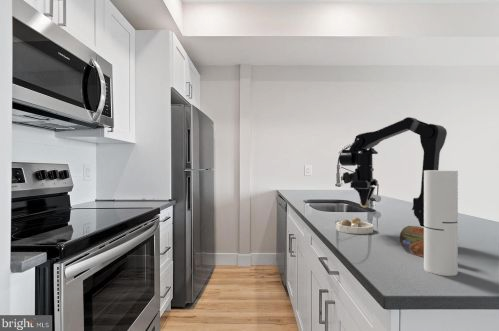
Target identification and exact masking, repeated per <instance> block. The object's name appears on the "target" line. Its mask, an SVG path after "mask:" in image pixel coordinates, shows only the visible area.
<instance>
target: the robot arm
mask: <svg viewBox="0 0 499 331" xmlns="http://www.w3.org/2000/svg"><path fill="white" fill-rule="evenodd" d="M408 131H411V132H412V133H415V134H417V135H419V139H420V140H419V141H420V144H421V147H422V152H423V159H422V171H421V184H420V193H419V196H418V197H413V200H412V204H413V205H412V209H411V211H413V215H414V217H415V218H416V219H417V220H418V223H419V225H420V226H419V227H423V228H424V170H439V167H440V164H439V163H440V154H441V151H442V150H443V149H442V148H443V147H444V145H445V143H446V139H447V136H448V132H447V129H446V128H445V127H444V126H442V125H438V124H433V123H428V122H427V123H426V122H424V121H421V120H419V119H417V118H414V117H405V118H403V119H402V120H398V121H397V122H394V123H391V124H389V125H387V126H385V127H382V128H380V129H377V130H375V131H374V130H373V131H368V132H367V131H366V132H363V133H358V134H357V135H356V136H355V138H354V141H353V143H352V144H351V146H350V147H349V149H341V153H340V155H339V157H338V161H339V162H338V163H339V164H340V166H342V167H343V166H346V167H352V166H355V167H356V166H357V167H356V168H355V169H354V171H353V172H352V173H351V172H348V171H346V172H343V174H342V176H341V180H342V181H343V183H344V184H345V185H347V184H350V188H351V189H354V190H355V191H357V193H358V196H359V199H360V201H361V204H362V206H365V204H366V202H367V200H369V201H370V199H371V197H372V195H373V194H374V191H375V189H376V187H378V184H379V182H378V180H377V179H376V178H373V171H375V170H374V168H373V155H378V154H379V152H378V151H377V150H375V148H374V147H376V146H377V145H379V144H380V143H381V142H383V141H384V140H387V139H389V138H392V137H396V136H397V135H400V134H404V133H406V132H408ZM362 206H361V207H362Z"/></svg>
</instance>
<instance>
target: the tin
mask: <svg viewBox="0 0 499 331" xmlns="http://www.w3.org/2000/svg"><path fill="white" fill-rule="evenodd" d="M399 243H400V245H401V247H402V249H403V250H404V251H405V252H406V253H408V254H410V255H413V256H417V257H419V258H420V257H421V258H423V259H424V227H423V226H418V225H407V226H405V227H404V228H402V229H401V232H400V234H399Z"/></svg>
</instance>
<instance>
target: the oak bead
mask: <svg viewBox="0 0 499 331" xmlns="http://www.w3.org/2000/svg"><path fill="white" fill-rule="evenodd" d="M351 221H352V223H355V224H358V226H359V225H360V224H361V222H362V220H361V219H360V218H359V217H353V218H352V219H351Z"/></svg>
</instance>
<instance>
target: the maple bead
mask: <svg viewBox="0 0 499 331" xmlns="http://www.w3.org/2000/svg"><path fill="white" fill-rule="evenodd" d="M359 206H360V207H362V208H365V209H366V208H368V207H369V206H370V200H367V202H366V204H365V206H362V204H361V200H360V201H359Z"/></svg>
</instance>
